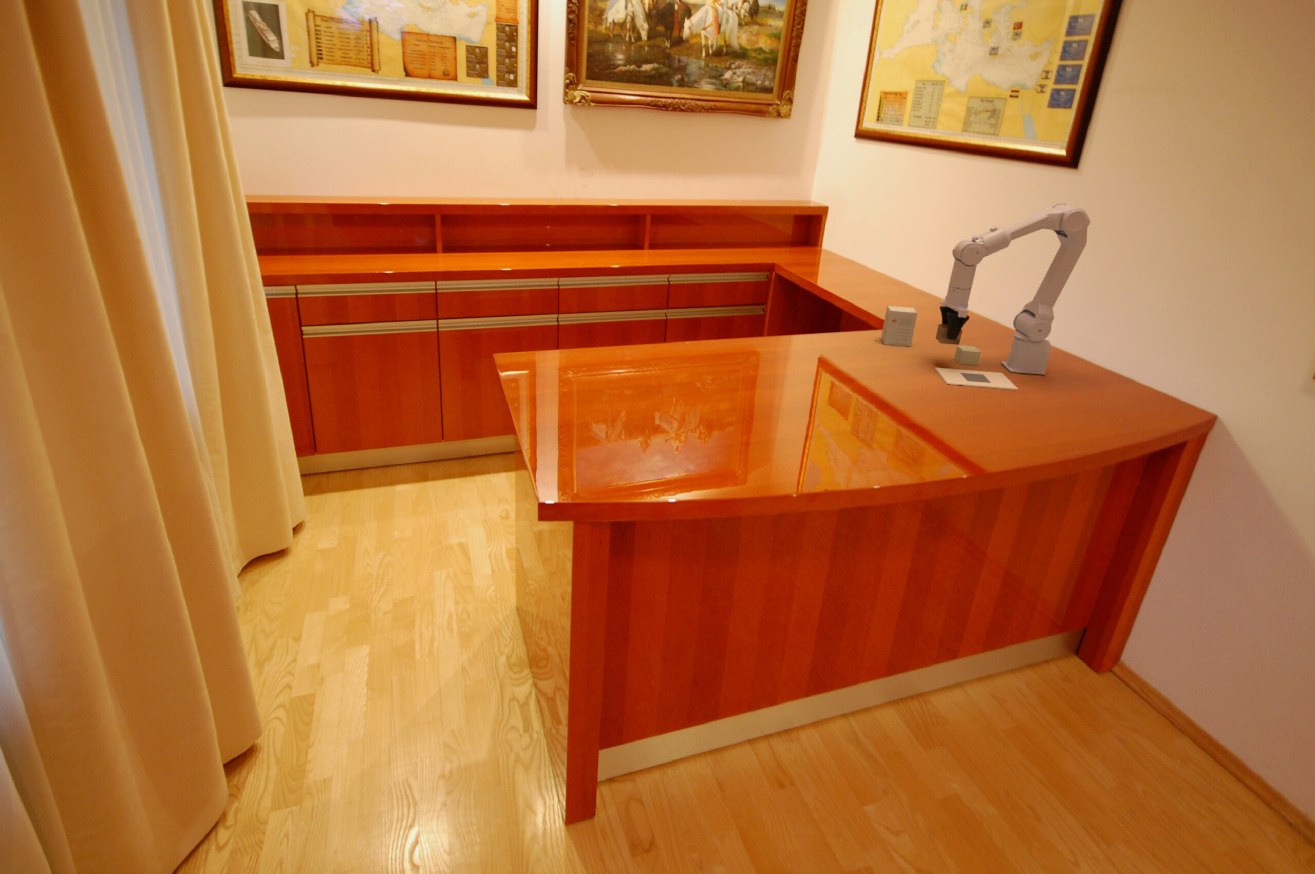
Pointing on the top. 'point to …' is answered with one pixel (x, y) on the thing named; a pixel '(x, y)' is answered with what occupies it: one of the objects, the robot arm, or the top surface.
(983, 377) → the board
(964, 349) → the sage block
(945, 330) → the walnut block
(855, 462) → the top surface
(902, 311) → the small box
